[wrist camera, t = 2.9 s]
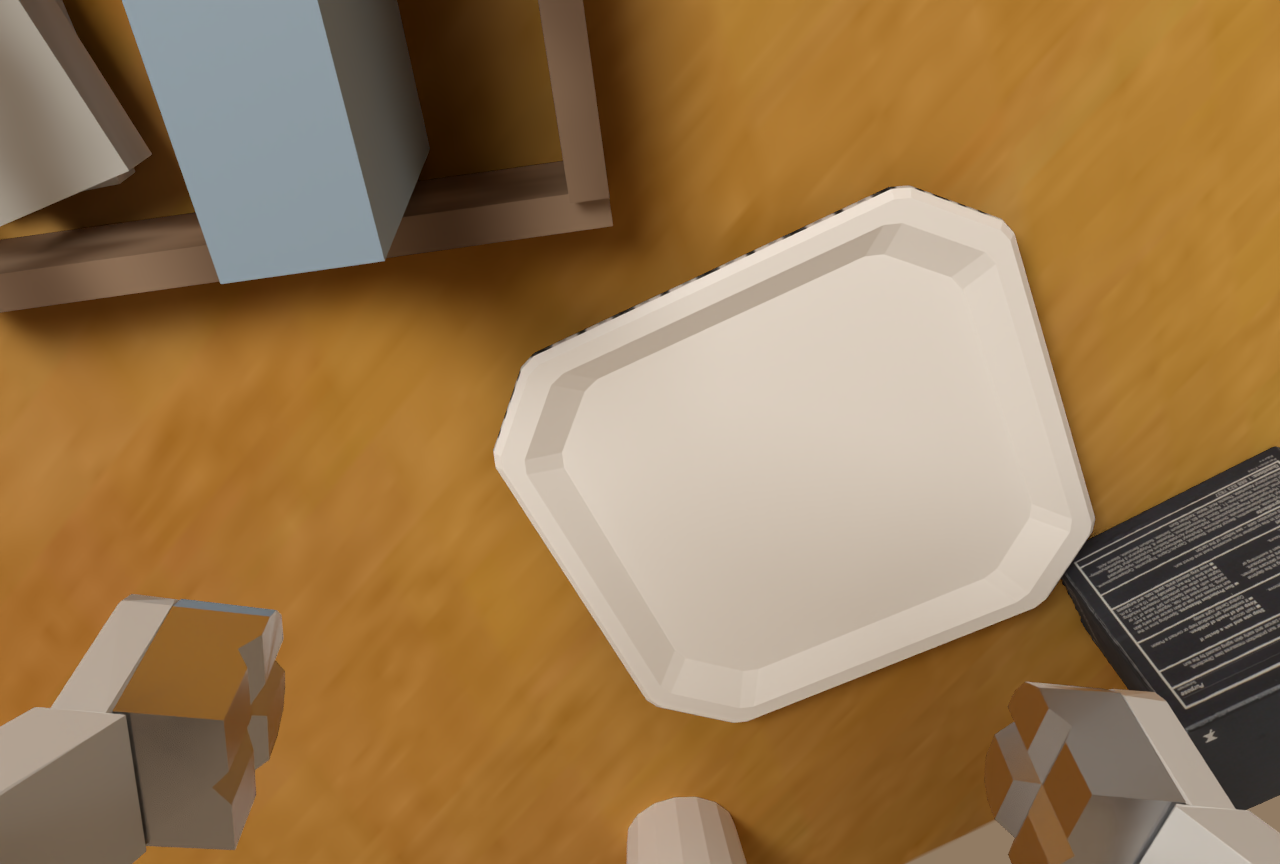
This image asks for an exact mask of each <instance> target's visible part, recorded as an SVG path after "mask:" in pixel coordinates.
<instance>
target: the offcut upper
mask: <svg viewBox="0 0 1280 864" xmlns="http://www.w3.org/2000/svg"><path fill="white" fill-rule="evenodd" d="M150 155H152V153H151V152H150V150H149V148H148V147H147V145H146V144H145V142H144V140H143V139H142V137H141V136H140V134H139V133H138V131H137V129H136V128H135V126H134V125H133V123H132V121H131V120H130V118H129V117H128V115H127V114H126V112H125V110H124V109H123V107H122V106H121V104H120V102H119V101H118V99H117V98H116V96H115V95H114V93H113V91H112V90H111V88H110V87H109V85H108V83H107V82H106V80H105V79H104V77H103V76H102V74H101V72H100V71H99V69H98V68H97V66H96V64H95V63H94V61H93V60H92V58H91V57H90V55H89V53H88V52H87V50H86V49H85V47H84V45H83V44H82V42H81V41H80V39H79V38H78V36H77V34H76V33H75V31H74V30H73V28H72V26H71V25H70V23H69V22H68V20H67V18H66V17H65V15H64V14H63V12H62V11H61V9H60V7H59V6H58V4H57V3H56V1H55V0H0V226H2V225H5V224H7V223H9V222H12V221H14V220H16V219H19V218H21V217H23V216H26V215H28V214H30V213H32V212H35V211H37V210H39V209H42V208H44V207H46V206H49V205H51V204H53V203H56V202H58V201H60V200H63V199H65V198H67V197H70V196H72V195H74V194H77V193H79V192H81V191H84V190H86V189H88V188H91V187H93V186H95V185H97V184H100V183H102V182H104V181H107V180H109V179H111V178H114V177H116V176H118V175H121V174H123V173H125V172H128V171H130V170H131V169H132V168H134V167H135V166H137V165H138V164H139V163H141V162H142V161H144V160H145V159H146V158H148V157H149V156H150Z"/></svg>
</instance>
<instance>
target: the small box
mask: <svg viewBox="0 0 1280 864" xmlns="http://www.w3.org/2000/svg"><path fill="white" fill-rule="evenodd" d="M1061 579H1062V580H1063V582H1062V583H1063V585H1064V586H1066V588H1067V590H1068V594H1069V595H1070V597H1071V598H1072V600H1073V603H1074V604H1075V608H1076V610H1077V611H1078V612H1079V615H1080V616H1081V622H1082V623H1083V626H1084V627H1085V629H1086V630H1087V631H1088V633H1089V634H1090V635H1091V637H1092V640H1093V641H1094V642H1095V644H1096V645H1097V646H1098V647H1099V649H1100V650H1101V651H1102V653H1103V654H1104V656H1105V657H1106V658H1107V660H1108V662H1109V663H1110V664H1111V666H1112V667H1113V668H1114V670H1115V671H1116V672H1117V674H1118V675H1119V677H1120V678H1121V679H1122V681H1123V682H1124V684H1125V685H1126V686H1127V688H1128V689H1129V690H1134V691H1146V692H1155V693H1156V694H1158V695H1159V696H1161V697H1162V698H1163V699H1164V700H1166V701H1167V703H1168V704H1169V706H1170V708H1171V709H1172V711H1173V712H1174V714H1175V715H1176V717H1177V718H1178V720H1179V722H1180V723H1181V725H1182V726H1183V728H1184V729H1185V731H1186V732H1187V734H1188V736H1189V737H1190V739H1191V740H1192V742H1193V743H1194V745H1195V746H1196V748H1197V750H1198V751H1199V753H1200V754H1201V756H1202V757H1203V759H1204V761H1205V762H1206V764H1207V765H1208V767H1209V768H1210V770H1211V771H1212V773H1213V775H1214V776H1215V778H1216V779H1217V781H1218V782H1219V784H1220V785H1221V787H1222V789H1223V790H1224V792H1225V793H1226V795H1227V796H1228V798H1229V799H1230V801H1231V803H1232V804H1233V806H1234V807H1235V809H1237V810H1247V809H1249V808H1251V807H1254V806H1256V805H1258V804H1261V803H1263V802H1265V801H1267V800H1269V799H1272V798H1274V797H1276V796H1279V795H1280V448H1279V447H1273V448H1270V449H1268V450H1266V451H1264V452H1262V453H1260V454H1258V455H1256V456H1254V457H1252V458H1250V459H1248V460H1246V461H1244V462H1242V463H1240V464H1238V465H1236V466H1234V467H1232V468H1230V469H1228V470H1226V471H1224V472H1222V473H1220V474H1218V475H1216V476H1214V477H1212V478H1210V479H1208V480H1206V481H1204V482H1202V483H1200V484H1198V485H1196V486H1194V487H1192V488H1190V489H1188V490H1187V491H1185V492H1183V493H1181V494H1179V495H1177V496H1175V497H1173V498H1170V499H1168V500H1166V501H1165V502H1163V503H1161V504H1159V505H1157V506H1155V507H1153V508H1151V509H1149V510H1147V511H1144V512H1143V513H1141V514H1139V515H1137V516H1135V517H1133V518H1131V519H1129V520H1127V521H1125V522H1123V523H1121V524H1119V525H1117V526H1115V527H1113V528H1111V529H1109V530H1107V531H1105V532H1103V533H1101V534H1099V535H1097V536H1095V537H1093V538H1091V539H1089V540H1087V541H1086V542H1085V543H1084V545H1083V546H1082V548H1081V549H1080V551H1079V552H1078V554H1077V555H1076V557H1075V558H1074V560H1073V561H1072V562H1071V564H1070V565H1069V567H1068V568H1067V570H1066V571H1065V573H1064V574H1063V576H1062V577H1061Z"/></svg>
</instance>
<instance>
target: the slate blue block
mask: <svg viewBox="0 0 1280 864" xmlns="http://www.w3.org/2000/svg"><path fill="white" fill-rule="evenodd" d="M122 2H123V5H124V8H125V11H126V14H127V16H128V19H129V22H130V25H131V28H132V31H133V34H134V37H135V39H136V42H137V45H138V48H139V51H140V54H141V57H142V60H143V62H144V65H145V68H146V71H147V74H148V77H149V80H150V83H151V85H152V88H153V91H154V94H155V97H156V100H157V103H158V106H159V108H160V111H161V114H162V117H163V120H164V123H165V126H166V129H167V131H168V134H169V137H170V140H171V143H172V146H173V149H174V152H175V154H176V157H177V160H178V163H179V166H180V169H181V172H182V175H183V177H184V180H185V183H186V186H187V189H188V192H189V195H190V198H191V200H192V203H193V206H194V209H195V212H196V215H197V218H198V221H199V223H200V226H201V229H202V232H203V235H204V238H205V241H206V244H207V247H208V249H209V252H210V255H211V258H212V261H213V264H214V267H215V270H216V272H217V275H218V278H219V281H220V284H226V283H233V282H240V281H247V280H254V279H261V278H268V277H275V276H283V275H290V274H297V273H304V272H311V271H318V270H325V269H332V268H339V267H346V266H353V265H361V264H368V263H375V262H382V261H385V259H386V257H387V254H388V252H389V249H390V247H391V244H392V242H393V239H394V237H395V234H396V232H397V229H398V227H399V225H400V222H401V220H402V217H403V215H404V212H405V210H406V207H407V205H408V202H409V200H410V197H411V195H412V192H413V190H414V188H415V185H416V183H417V180H418V178H419V175H420V173H421V170H422V168H423V165H424V163H425V160H426V158H427V155H428V153H429V151H430V146H429V142H428V137H427V133H426V128H425V124H424V119H423V115H422V110H421V106H420V101H419V97H418V92H417V88H416V83H415V79H414V74H413V70H412V65H411V61H410V56H409V52H408V47H407V43H406V38H405V34H404V29H403V24H402V20H401V15H400V11H399V6H398V2H397V0H122Z"/></svg>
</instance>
